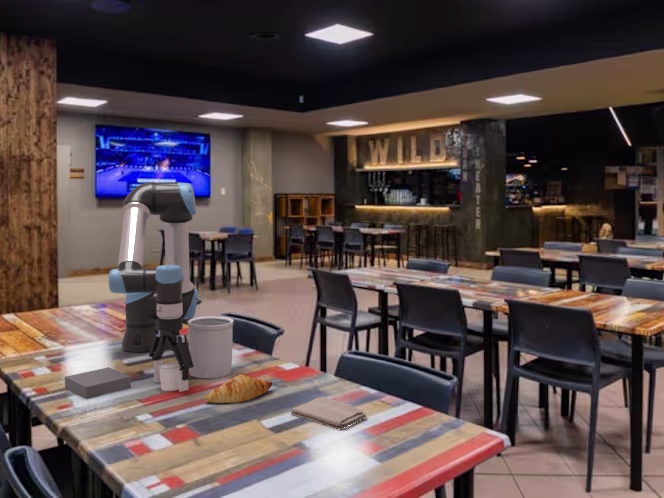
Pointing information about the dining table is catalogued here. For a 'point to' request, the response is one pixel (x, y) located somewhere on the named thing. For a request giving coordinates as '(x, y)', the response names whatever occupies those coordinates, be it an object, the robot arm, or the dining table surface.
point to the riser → (97, 382)
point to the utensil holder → (210, 346)
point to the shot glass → (169, 376)
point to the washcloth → (329, 412)
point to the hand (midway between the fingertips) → (170, 385)
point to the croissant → (238, 390)
